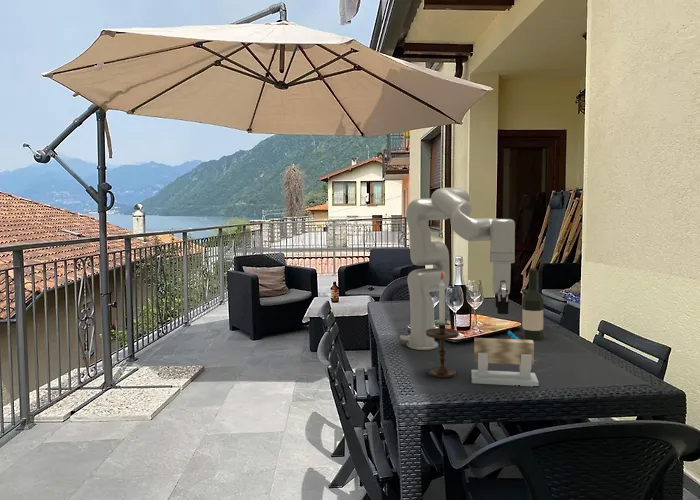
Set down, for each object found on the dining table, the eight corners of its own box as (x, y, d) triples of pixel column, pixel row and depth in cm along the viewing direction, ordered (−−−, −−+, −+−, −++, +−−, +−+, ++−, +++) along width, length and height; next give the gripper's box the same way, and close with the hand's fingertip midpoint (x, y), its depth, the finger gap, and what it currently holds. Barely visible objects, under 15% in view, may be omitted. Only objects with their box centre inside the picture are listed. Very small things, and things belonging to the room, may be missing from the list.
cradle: (471, 383, 157) (471, 353, 156) (471, 374, 165) (471, 346, 165) (538, 386, 152) (538, 356, 152) (534, 377, 161) (534, 348, 160)
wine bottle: (521, 339, 208) (522, 269, 206) (522, 335, 216) (523, 267, 214) (542, 341, 205) (543, 269, 203) (543, 336, 213) (543, 267, 211)
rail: (474, 362, 159) (474, 340, 158) (474, 358, 163) (474, 337, 162) (533, 365, 154) (533, 343, 154) (532, 361, 158) (532, 340, 158)
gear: (528, 350, 186) (509, 330, 189) (516, 360, 187) (497, 340, 190) (529, 347, 196) (511, 328, 199) (518, 356, 198) (500, 337, 201)
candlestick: (436, 366, 174) (435, 268, 171) (464, 372, 167) (464, 269, 165) (420, 375, 166) (419, 271, 163) (449, 381, 159) (448, 273, 156)
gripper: (488, 255, 166) (488, 305, 168) (491, 260, 150) (490, 316, 151) (512, 255, 165) (511, 305, 166) (517, 260, 148) (516, 316, 149)
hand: (501, 310), depth 159 cm, fingers open, 9 cm apart
